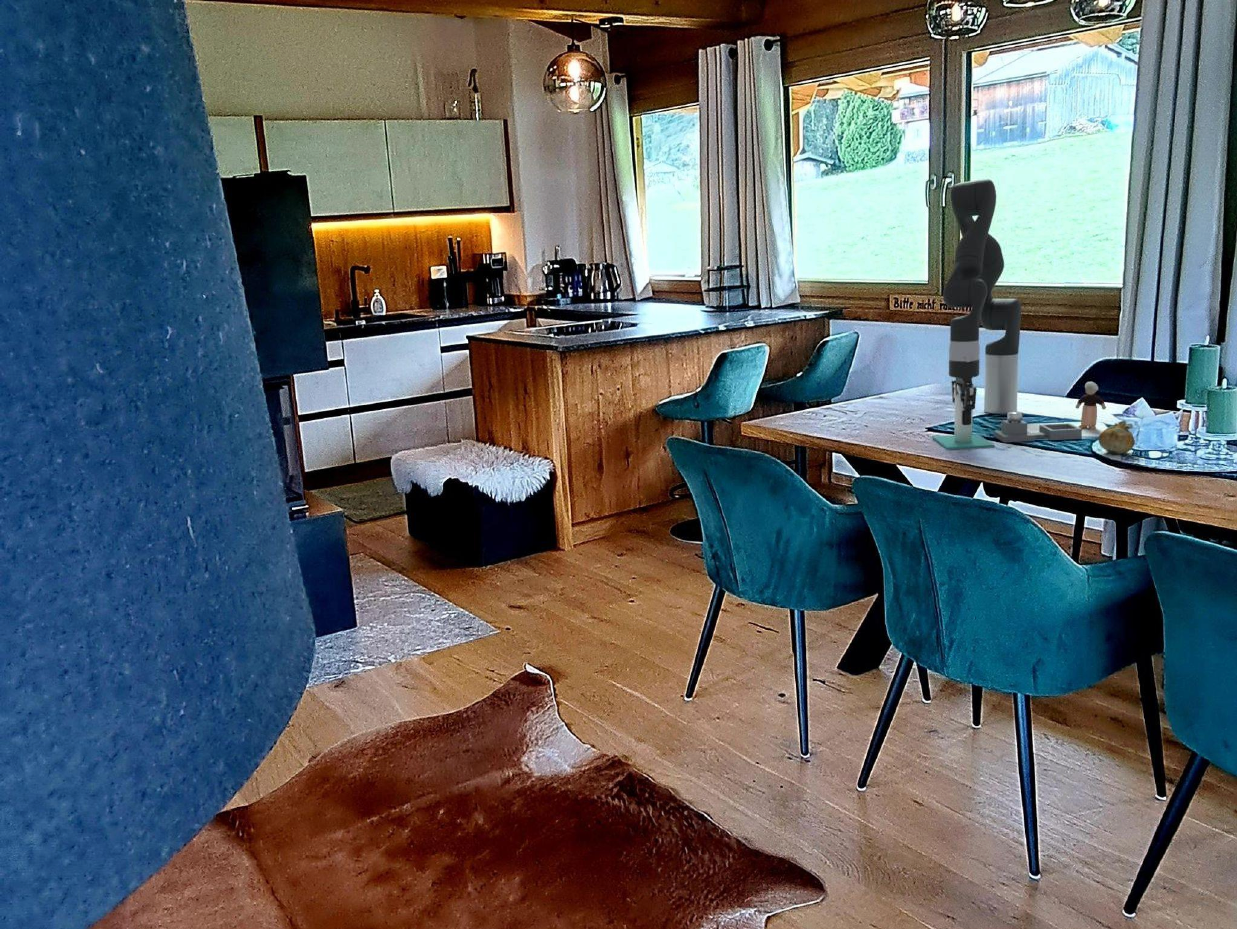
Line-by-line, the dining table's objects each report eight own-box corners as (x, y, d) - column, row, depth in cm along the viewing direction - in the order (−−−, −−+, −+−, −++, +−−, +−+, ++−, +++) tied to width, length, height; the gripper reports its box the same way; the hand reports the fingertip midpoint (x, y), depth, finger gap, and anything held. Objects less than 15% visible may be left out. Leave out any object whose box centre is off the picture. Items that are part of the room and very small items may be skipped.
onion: (1097, 449, 265) (1099, 417, 263) (1133, 450, 262) (1135, 418, 260) (1098, 456, 258) (1099, 423, 256) (1135, 457, 255) (1136, 424, 253)
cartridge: (952, 439, 282) (953, 392, 279) (968, 438, 282) (970, 391, 279) (956, 442, 278) (958, 395, 275) (974, 441, 278) (975, 394, 275)
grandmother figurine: (1073, 429, 289) (1075, 382, 286) (1074, 426, 292) (1076, 380, 289) (1104, 430, 285) (1106, 383, 283) (1105, 427, 289) (1107, 380, 286)
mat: (932, 438, 287) (932, 436, 287) (977, 436, 287) (977, 434, 287) (947, 449, 273) (947, 447, 273) (994, 447, 273) (994, 444, 273)
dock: (993, 436, 286) (994, 419, 285) (1069, 432, 285) (1070, 415, 284) (1003, 442, 278) (1004, 425, 277) (1081, 438, 277) (1082, 421, 276)
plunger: (1005, 428, 283) (1005, 411, 282) (1018, 427, 283) (1019, 411, 282) (1009, 431, 279) (1010, 414, 278) (1023, 430, 279) (1024, 413, 278)
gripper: (941, 355, 282) (941, 418, 286) (957, 362, 268) (956, 428, 272) (970, 353, 282) (969, 416, 286) (987, 360, 268) (986, 427, 272)
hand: (963, 422), depth 279 cm, fingers open, 5 cm apart
